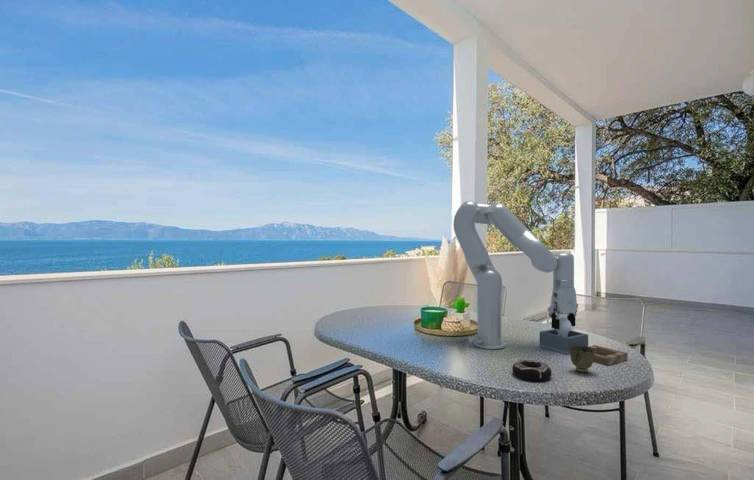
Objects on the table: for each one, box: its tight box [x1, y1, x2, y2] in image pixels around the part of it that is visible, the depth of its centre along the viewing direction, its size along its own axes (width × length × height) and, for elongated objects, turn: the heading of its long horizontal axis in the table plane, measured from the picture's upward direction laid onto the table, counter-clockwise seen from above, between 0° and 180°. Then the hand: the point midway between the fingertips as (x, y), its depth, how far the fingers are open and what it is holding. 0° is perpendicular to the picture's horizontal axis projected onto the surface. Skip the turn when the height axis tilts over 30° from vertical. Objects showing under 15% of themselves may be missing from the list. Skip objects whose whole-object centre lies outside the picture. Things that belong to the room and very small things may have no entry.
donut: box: [511, 359, 552, 382], centre depth 125 cm, size 12×12×4 cm
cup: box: [569, 345, 595, 374], centre depth 128 cm, size 8×7×8 cm
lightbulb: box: [556, 317, 571, 337], centre depth 155 cm, size 6×6×11 cm
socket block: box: [588, 344, 629, 367], centre depth 142 cm, size 12×12×2 cm
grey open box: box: [539, 328, 589, 356], centre depth 155 cm, size 12×12×6 cm
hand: (563, 327), depth 155 cm, fingers open, 9 cm apart
